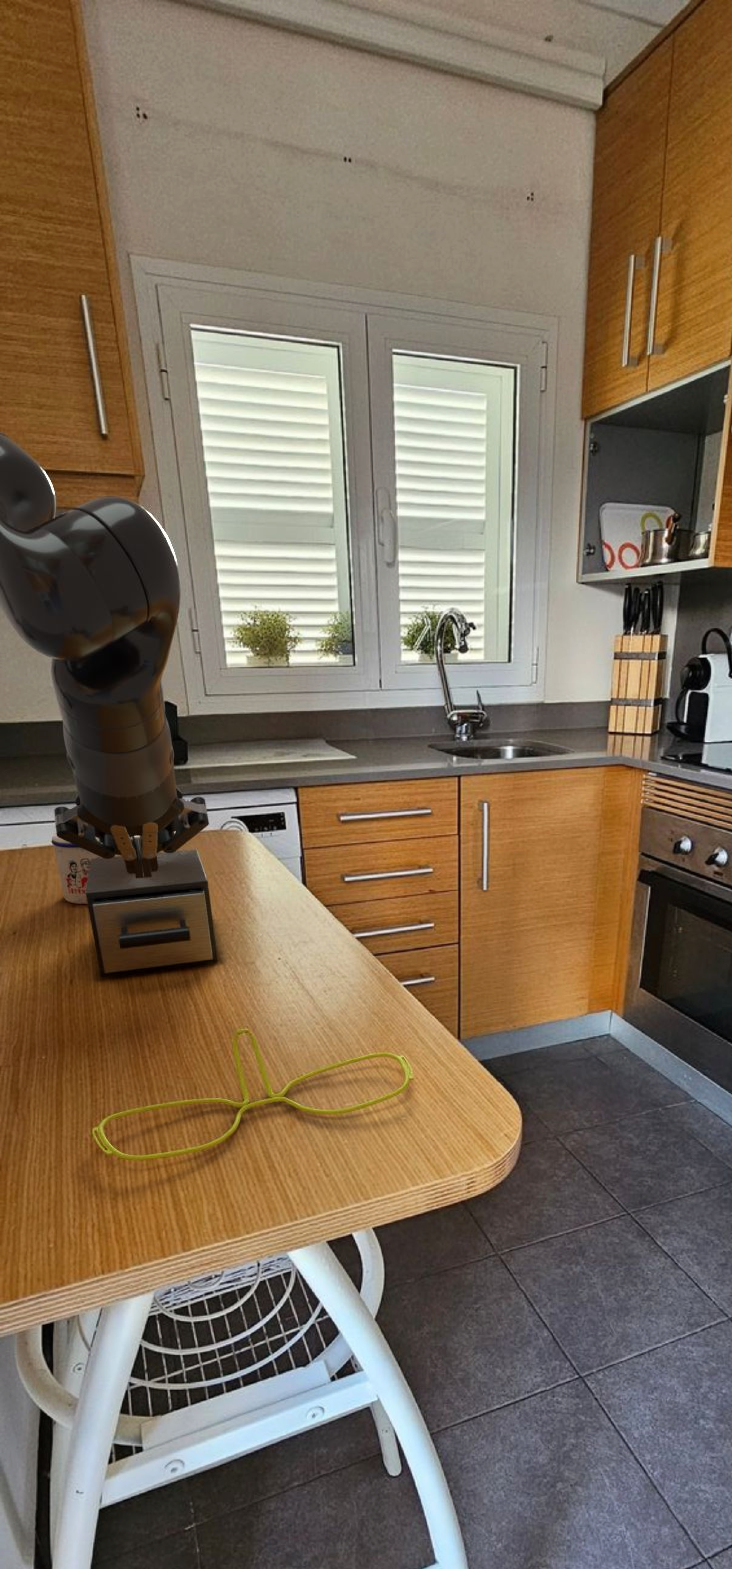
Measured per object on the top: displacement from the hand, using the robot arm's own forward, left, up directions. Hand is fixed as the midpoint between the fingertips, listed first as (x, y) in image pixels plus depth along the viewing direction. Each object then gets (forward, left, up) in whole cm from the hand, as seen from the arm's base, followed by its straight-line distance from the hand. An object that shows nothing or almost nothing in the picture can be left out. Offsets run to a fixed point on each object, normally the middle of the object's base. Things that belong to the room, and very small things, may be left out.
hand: (142, 869), depth 80 cm
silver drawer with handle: (-7, +12, -13) cm, 19 cm away
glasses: (+17, -17, -14) cm, 28 cm away
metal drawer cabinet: (-9, +16, -14) cm, 23 cm away
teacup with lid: (-27, +35, -14) cm, 47 cm away
